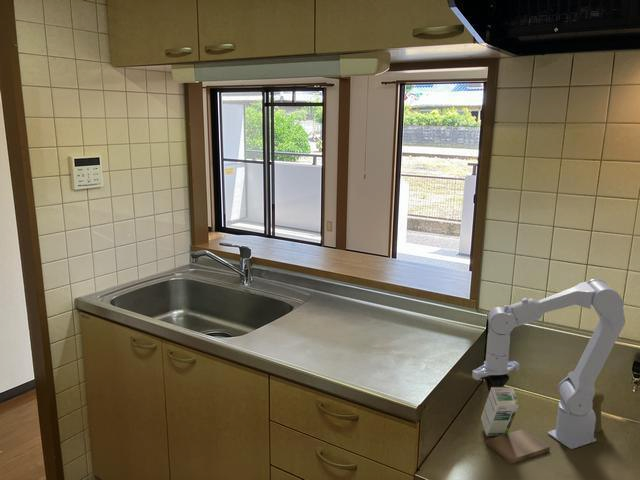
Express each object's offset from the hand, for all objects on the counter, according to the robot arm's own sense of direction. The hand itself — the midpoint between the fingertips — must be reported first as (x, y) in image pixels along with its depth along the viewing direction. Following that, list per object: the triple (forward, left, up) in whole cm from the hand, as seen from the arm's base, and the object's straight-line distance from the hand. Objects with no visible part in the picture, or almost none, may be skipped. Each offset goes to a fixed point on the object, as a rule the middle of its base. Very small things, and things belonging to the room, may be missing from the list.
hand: (493, 397), depth 143 cm
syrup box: (0, 0, -9) cm, 9 cm away
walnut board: (-1, +9, -10) cm, 13 cm away
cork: (-27, +9, -10) cm, 30 cm away
